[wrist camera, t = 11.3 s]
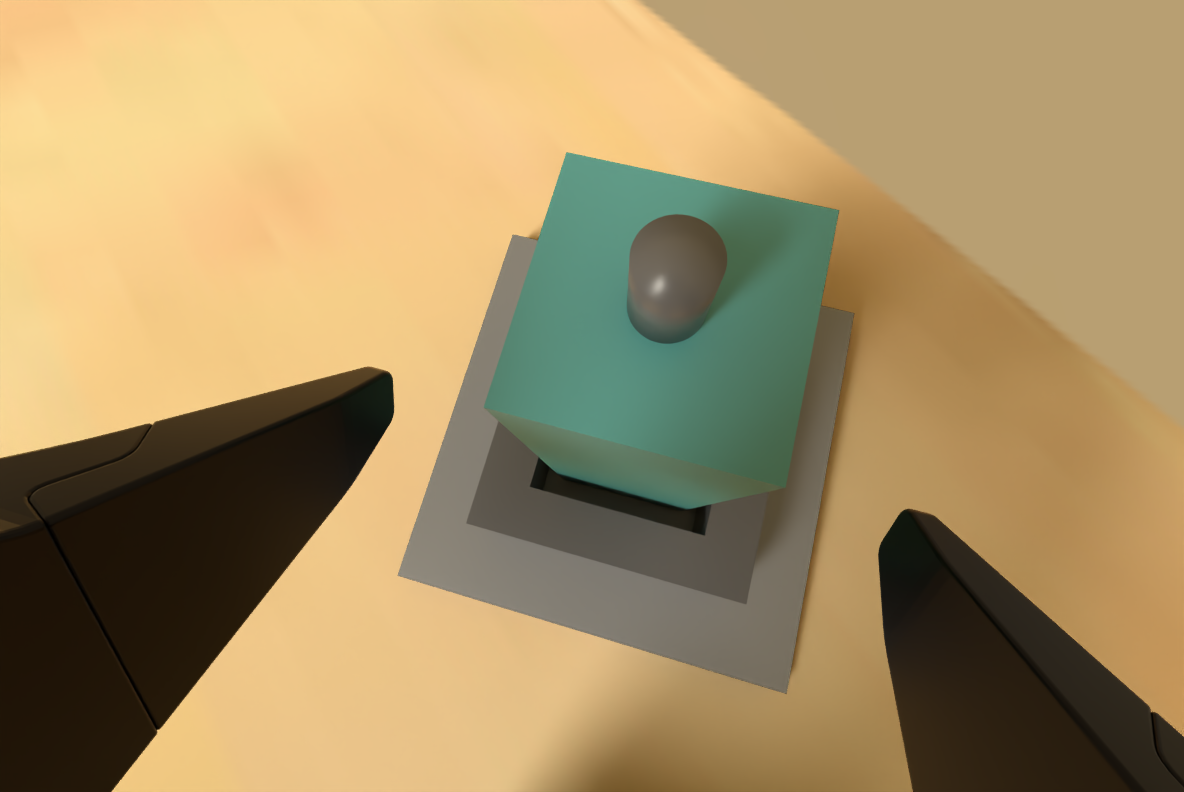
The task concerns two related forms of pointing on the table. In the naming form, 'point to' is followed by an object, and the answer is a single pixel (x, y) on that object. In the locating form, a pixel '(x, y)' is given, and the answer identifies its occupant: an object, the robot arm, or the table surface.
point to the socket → (626, 528)
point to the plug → (664, 334)
